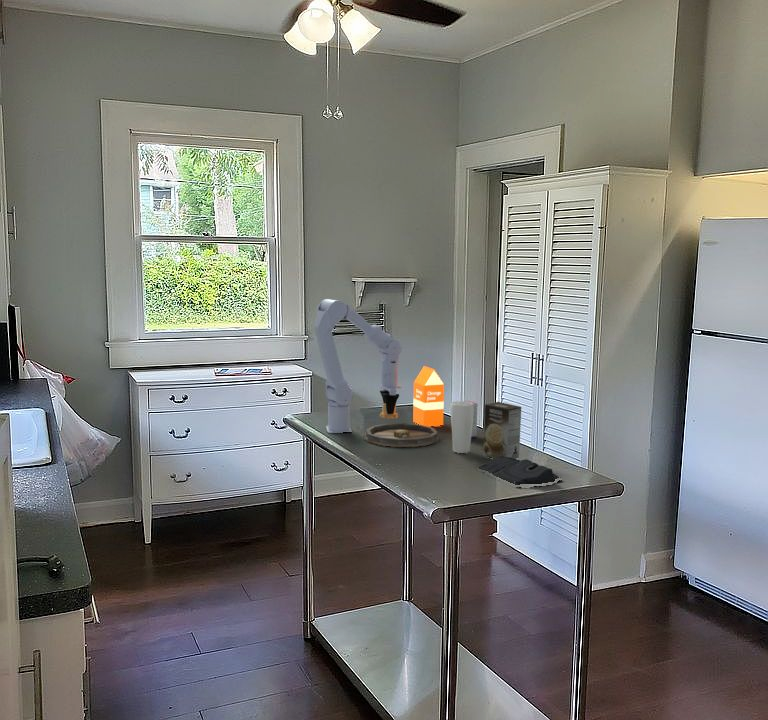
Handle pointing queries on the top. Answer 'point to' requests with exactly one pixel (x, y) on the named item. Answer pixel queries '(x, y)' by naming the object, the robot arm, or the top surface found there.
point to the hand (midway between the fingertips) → (389, 412)
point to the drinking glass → (462, 425)
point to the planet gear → (390, 416)
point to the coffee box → (502, 430)
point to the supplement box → (474, 421)
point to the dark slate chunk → (519, 471)
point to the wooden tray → (401, 435)
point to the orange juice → (428, 398)
